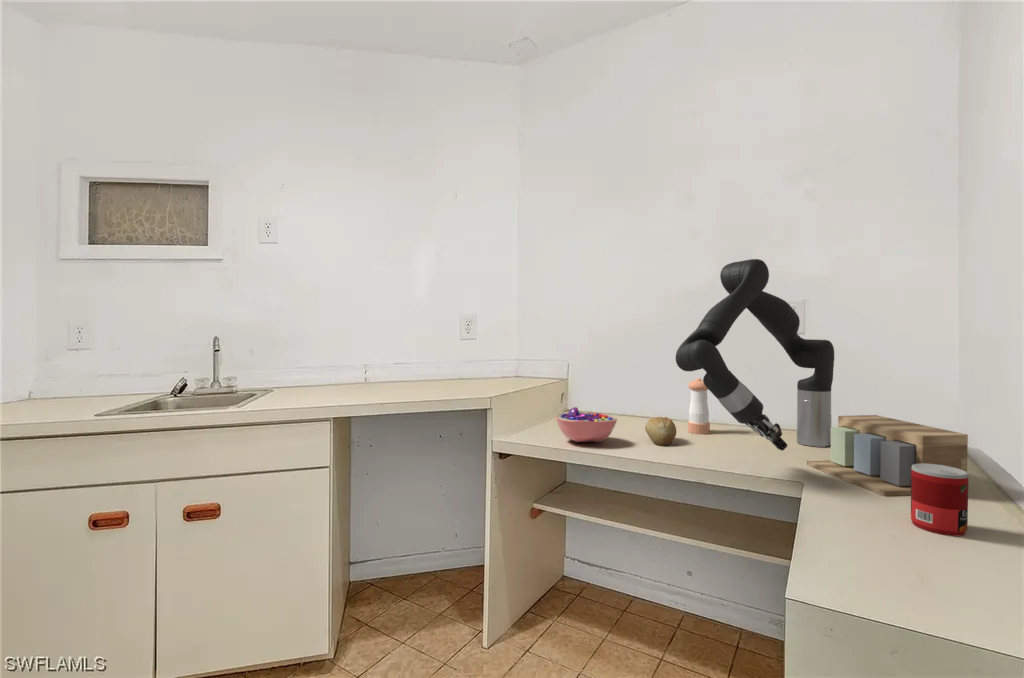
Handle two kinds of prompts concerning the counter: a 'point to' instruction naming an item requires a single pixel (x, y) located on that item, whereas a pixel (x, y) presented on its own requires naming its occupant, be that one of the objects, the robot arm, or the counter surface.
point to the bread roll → (661, 430)
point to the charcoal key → (897, 462)
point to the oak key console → (928, 441)
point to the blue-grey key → (868, 453)
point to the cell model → (585, 426)
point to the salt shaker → (698, 408)
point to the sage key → (843, 445)
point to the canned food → (939, 499)
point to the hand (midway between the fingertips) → (783, 447)
